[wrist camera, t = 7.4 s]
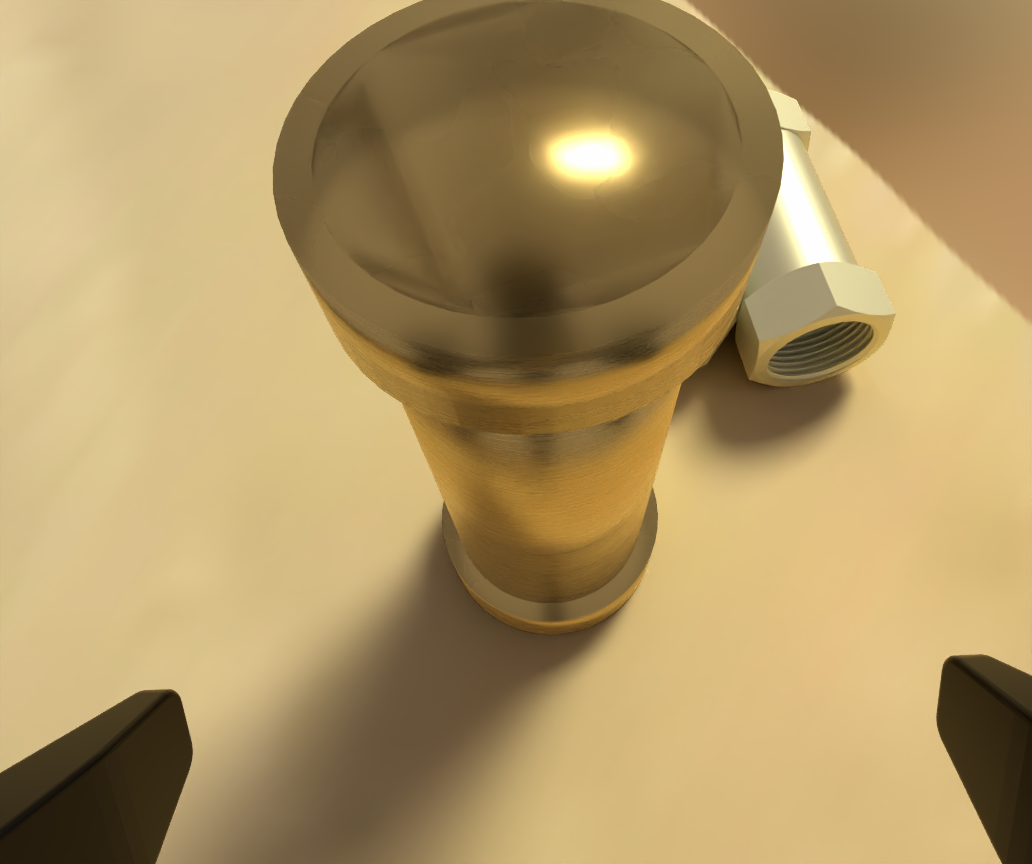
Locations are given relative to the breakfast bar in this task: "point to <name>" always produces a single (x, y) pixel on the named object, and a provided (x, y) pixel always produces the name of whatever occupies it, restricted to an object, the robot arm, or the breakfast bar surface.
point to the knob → (533, 263)
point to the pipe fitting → (806, 281)
